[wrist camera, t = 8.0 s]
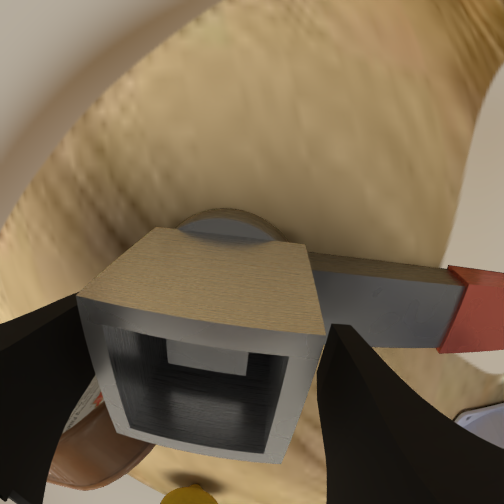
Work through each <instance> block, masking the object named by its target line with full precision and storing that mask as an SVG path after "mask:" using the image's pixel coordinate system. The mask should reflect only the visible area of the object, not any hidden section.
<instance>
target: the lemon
mask: <svg viewBox="0 0 504 504" xmlns="http://www.w3.org/2000/svg"><path fill="white" fill-rule="evenodd" d="M160 504H218V503H217V501H216V500H215V499H214V498H213V497H212V496H211V495H210V494H209V493H207V492H205V491H204V490H203V489H202V488H201V487H200V485H197V484H193V485H191V486H189V487H182V488H177V489H175V490H173V491H171V492H169V493H168V494H167V495H166V496H165V497H164V498H163V500H162V501H161V503H160Z"/></svg>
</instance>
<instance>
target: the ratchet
mask: <svg viewBox="0 0 504 504" xmlns="http://www.w3.org/2000/svg"><path fill="white" fill-rule="evenodd" d="M175 229H179V230H188V231H197V232H206V233H215V234H223V235H232V236H240V237H249V238H257V239H265V240H273V241H281V242H288V241H287V240H286V238H285V237H284V236H283V235H282V233H281V232H280V231H279V230H278V229H277V228H275V227H274V226H273V225H272V224H271V223H269V222H268V221H266V220H264V219H263V218H261V217H259V216H257V215H255V214H252V213H249V212H246V211H243V210H237V209H228V208H220V209H211V210H207V211H203V212H200V213H198V214H195V215H193V216H191V217H189V218H188V219H186V220H185V221H183V222H182V223H181V224H179V225H178V226H177V227H176V228H175ZM307 254H308V258H309V262H310V266H311V270H312V274H313V278H314V283H315V287H316V291H317V296H318V300H319V305H320V309H321V314H322V318H323V323H324V328H325V332H326V337H325V341H324V344H326V340H327V337H328V333H329V330H330V326H331V323H333V324H346V325H351V326H352V327H353V328H354V329H355V330H356V331H357V332H358V333H359V334H360V335H361V336H362V338H363V339H364V340H365V341H366V342H367V343H368V344H369V345H370V346H371V347H389V348H436V349H437V351H438V353H439V354H442V353H464V352H480V351H493V350H503V349H504V273H502V272H494V271H487V270H481V269H474V268H467V267H460V266H452V265H448V267H447V269H444V268H441V269H440V268H432V267H424V266H417V265H409V264H401V263H393V262H385V261H377V260H369V259H361V258H353V257H345V256H337V255H328V254H320V253H312V252H307ZM166 345H167V356H168V363H170V364H175V365H181V366H186V367H191V368H197V369H203V370H209V371H215V372H222V373H229V374H236V375H244V376H246V370H247V362H248V355H249V352H246V351H238V350H231V349H224V348H217V347H211V346H205V345H199V344H193V343H187V342H182V341H176V340H171V339H166Z"/></svg>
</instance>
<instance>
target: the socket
mask: <svg viewBox="0 0 504 504" xmlns="http://www.w3.org/2000/svg"><path fill="white" fill-rule="evenodd" d="M76 300H77V305H78V309H79V314H80V318H81V323H82V327H83V331H84V335H85V339H86V343H87V347H88V350H89V354H90V358H91V361H92V364H93V368H94V371H95V374H96V377H97V380H98V383H99V387H100V389H101V392H102V395H103V398H104V401H105V404H106V406H107V409H108V412H109V414H110V417H111V419H112V422H113V425H114V427H115V429H116V432H117V433H119V434H122V435H125V436H129V437H132V438H135V439H139V440H142V441H146V442H149V443H153V444H157V445H160V446H164V447H169V448H173V449H177V450H182V451H186V452H191V453H196V454H202V455H207V456H213V457H219V458H226V459H233V460H241V461H250V462H260V463H272V464H281V463H282V460H283V458H284V456H285V453H286V451H287V448H288V446H289V443H290V441H291V438H292V435H293V433H294V430H295V428H296V425H297V422H298V420H299V417H300V414H301V411H302V409H303V406H304V403H305V400H306V397H307V394H308V391H309V388H310V385H311V382H312V379H313V376H314V373H315V370H316V367H317V364H318V361H319V357H320V354H321V351H322V348H323V344H324V341H325V337H326V332H325V328H324V323H323V318H322V314H321V309H320V305H319V300H318V296H317V291H316V287H315V283H314V278H313V274H312V270H311V266H310V262H309V258H308V254H307V250H306V246H305V244H297V243H289V242H281V241H273V240H265V239H257V238H249V237H240V236H232V235H223V234H215V233H206V232H197V231H188V230H179V229H171V228H162V227H155V228H154V229H153V230H151V231H150V232H149V233H148V234H146V235H145V236H144V237H143V238H141V239H140V240H139V241H138V242H137V243H135V244H134V245H133V246H132V247H131V248H129V249H128V250H127V251H126V252H125V253H123V254H122V255H121V256H120V257H119V258H117V259H116V260H115V261H114V262H113V263H112V264H110V265H109V266H108V267H107V268H106V269H105V270H103V271H102V272H101V273H100V274H99V275H98V276H97V277H96V278H94V279H93V280H92V281H91V282H90V283H89V284H88V285H87V286H85V287H84V288H83V289H82V290H81V291H80V292H79V293H78V294H77V295H76ZM166 339H171V340H176V341H182V342H187V343H193V344H199V345H205V346H211V347H217V348H224V349H231V350H238V351H246V352H249V355H248V362H247V370H246V376H244V375H236V374H229V373H222V372H215V371H209V370H203V369H197V368H191V367H186V366H181V365H175V364H170V363H168V356H167V345H166Z"/></svg>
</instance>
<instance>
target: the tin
mask: <svg viewBox="0 0 504 504" xmlns="http://www.w3.org/2000/svg"><path fill="white" fill-rule="evenodd" d="M155 445H156V444H153V443H149V442H146V441H142V440H139V439H135V438H132V437H129V436H125V435H122V434H119V433H117V432H116V429H115V427H114V425H113V422H112V419H111V417H110V414H109V412H108V409H107V406H106V404H105V401H104V398H103V395H102V392H101V389H100V387H99V383H98V380H97V377H96V375H95V377H94V378H93V380H92V381H91V383H90V384H89V386H88V388H87V389H86V391H85V392H84V394H83V395H82V397H81V399H80V400H79V402H78V403H77V405H76V407H75V408H74V410H73V412H72V413H71V415H70V417H69V419H68V421H67V423H66V426H65V428H64V430H63V433H62V435H61V437H60V440H59V442H58V445H57V448H56V451H55V454H54V457H53V460H52V463H51V466H50V470H49V474H48V478H47V481H46V482H49V483H53V484H56V485H60V486H64V487H69V488H72V489H77V490H83V491H86V490H94V489H97V488H101V487H104V486H106V485H108V484H110V483H112V482H114V481H116V480H117V479H119V478H121V477H122V476H123V475H125V474H127V473H128V472H129V471H131V470H132V469H133V468H134V467H135V466H136V465H138V464H139V463H140V462H141V461H142V460H143V459H144V458H145V457H146V456H147V455H148V454H149V453H150V451H151V450H152V449H153V448H154V446H155Z"/></svg>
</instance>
